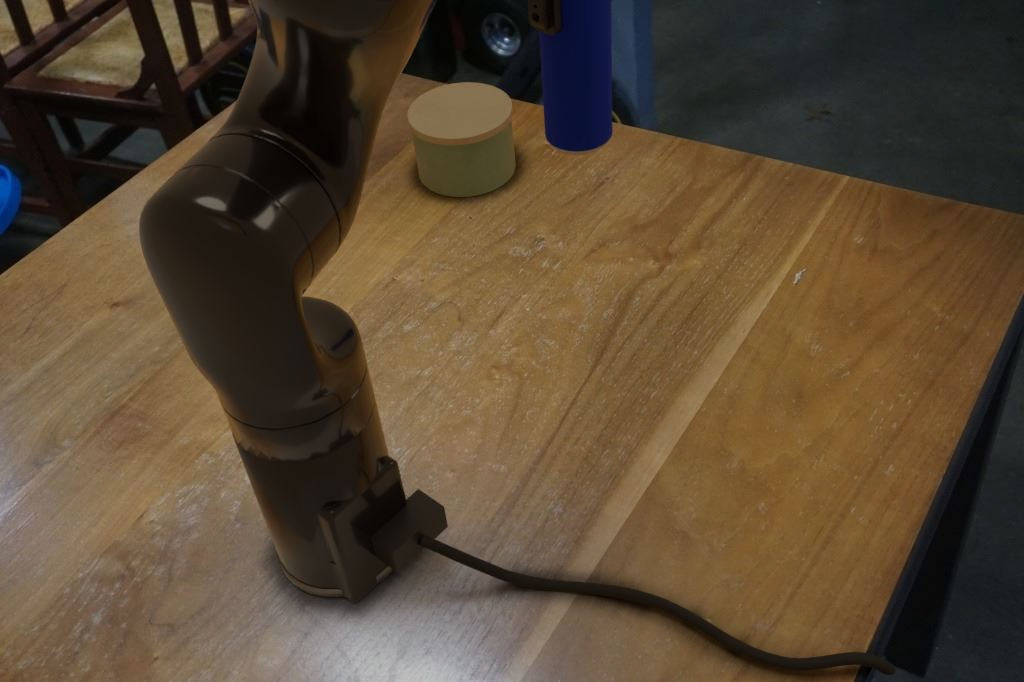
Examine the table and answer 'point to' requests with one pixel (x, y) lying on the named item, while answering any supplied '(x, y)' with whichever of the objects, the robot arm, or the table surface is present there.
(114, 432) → the table surface
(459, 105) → the cookie tin
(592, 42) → the beverage can
